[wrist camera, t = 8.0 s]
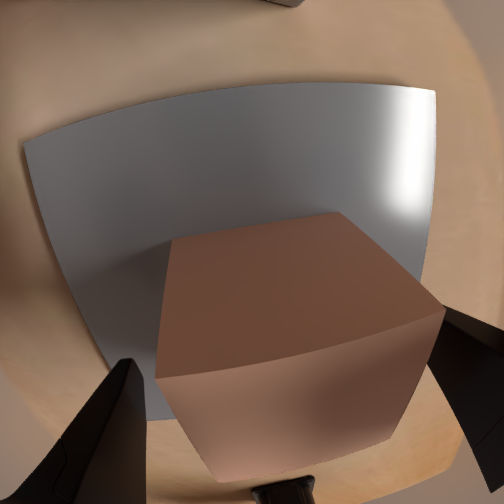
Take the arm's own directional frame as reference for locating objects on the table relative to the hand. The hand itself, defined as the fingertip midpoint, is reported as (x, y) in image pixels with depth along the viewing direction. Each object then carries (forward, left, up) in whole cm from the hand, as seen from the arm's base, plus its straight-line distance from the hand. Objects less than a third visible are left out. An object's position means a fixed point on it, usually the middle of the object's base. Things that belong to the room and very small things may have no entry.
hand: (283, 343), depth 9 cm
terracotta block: (0, 0, -2) cm, 2 cm away
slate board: (0, 0, -4) cm, 4 cm away
